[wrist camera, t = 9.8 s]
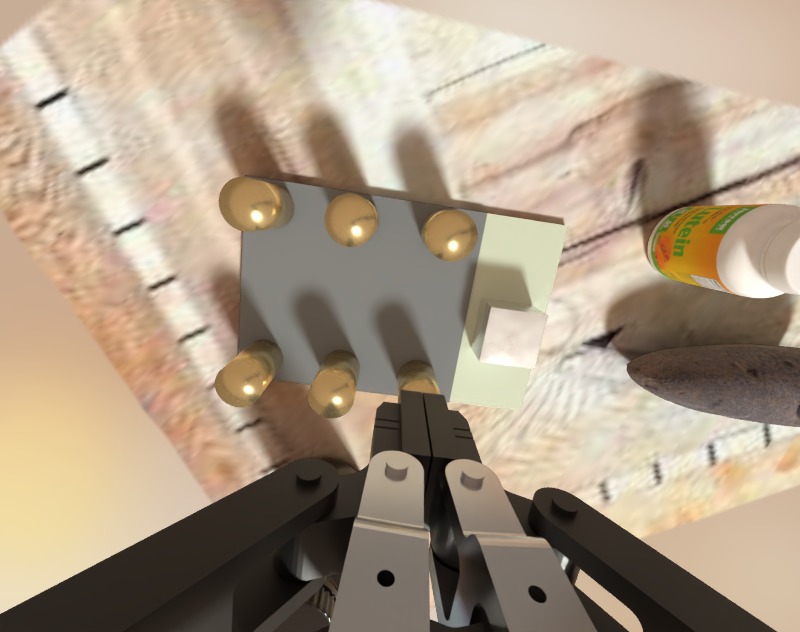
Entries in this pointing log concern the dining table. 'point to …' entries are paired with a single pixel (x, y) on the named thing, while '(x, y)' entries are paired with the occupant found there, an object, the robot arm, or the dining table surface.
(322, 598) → the supplement bottle
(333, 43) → the dining table surface
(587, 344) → the dining table surface
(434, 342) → the mat
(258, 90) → the dining table surface
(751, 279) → the supplement bottle
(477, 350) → the white faced textured brick
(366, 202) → the spacers
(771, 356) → the perforated stone tool
